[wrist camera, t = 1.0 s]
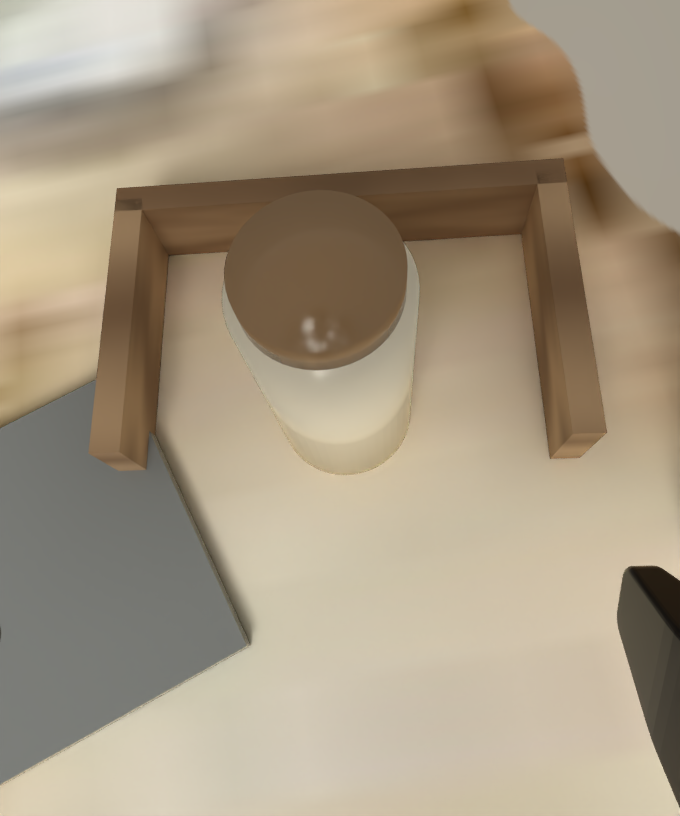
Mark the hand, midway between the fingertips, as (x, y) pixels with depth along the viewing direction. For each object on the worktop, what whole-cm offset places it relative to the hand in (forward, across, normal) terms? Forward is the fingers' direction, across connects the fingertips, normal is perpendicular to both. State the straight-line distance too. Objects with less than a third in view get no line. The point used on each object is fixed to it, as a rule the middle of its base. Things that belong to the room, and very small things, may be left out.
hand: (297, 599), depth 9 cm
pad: (+10, +11, +8) cm, 17 cm away
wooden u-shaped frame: (+16, 0, +2) cm, 16 cm away
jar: (+14, 0, +4) cm, 15 cm away
